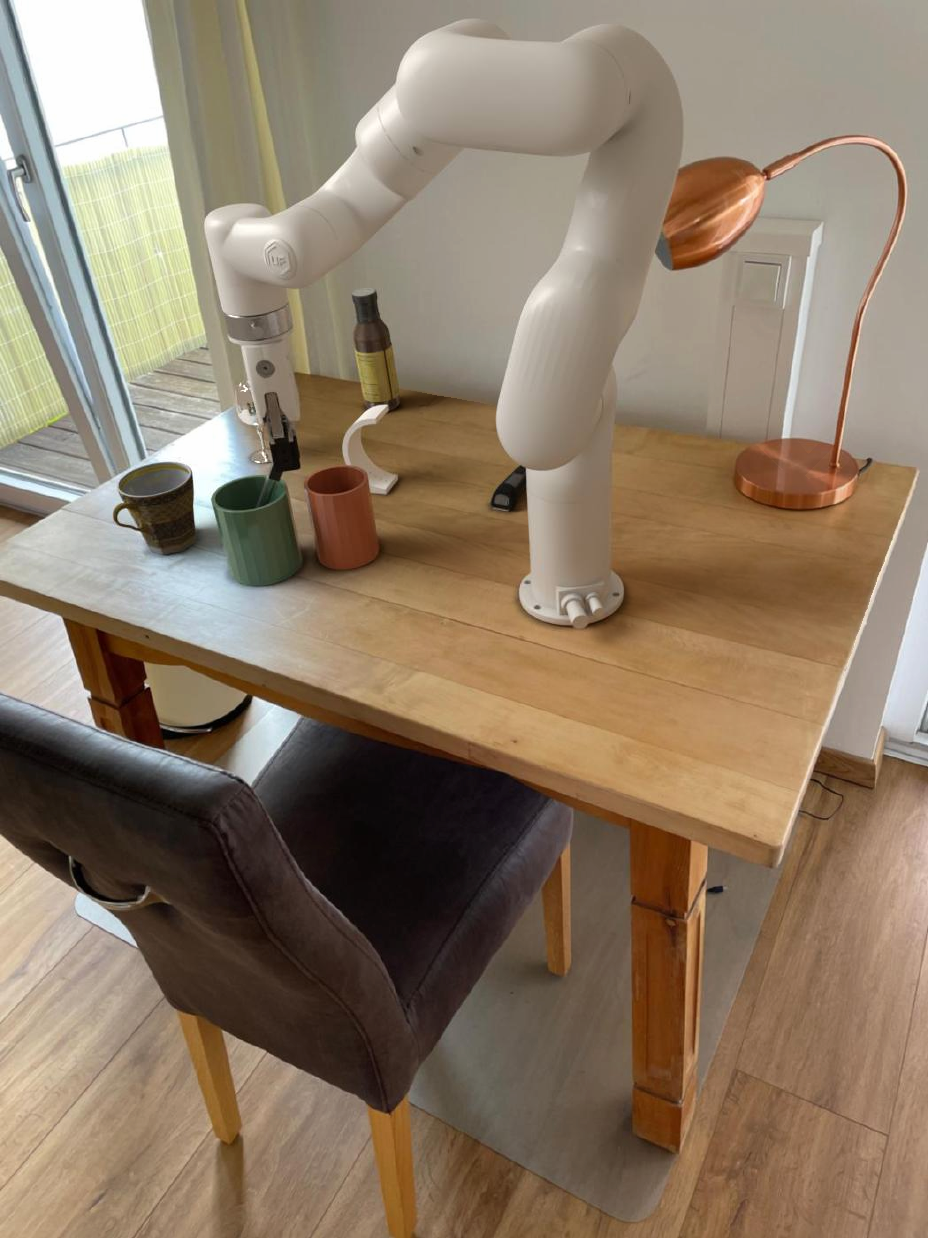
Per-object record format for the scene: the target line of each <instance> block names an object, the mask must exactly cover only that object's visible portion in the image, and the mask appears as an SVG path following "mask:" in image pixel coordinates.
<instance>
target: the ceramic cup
mask: <svg viewBox="0 0 928 1238" xmlns="http://www.w3.org/2000/svg"><path fill="white" fill-rule="evenodd" d="M116 489H117V492H118V495H119V496H120V499H121V501H122V502H121V503H118V504H117V505H116V506H114V508H113V511H112V519H113V523H115V524H116V525H117V526H119V527H121V528H126V529H131V530H133V531H137V532H140V533H141V535H142V537H143V540H144V541H145V544H146V545H147V547H148V549H149V551H150V552H151V553H154V554H159V555H161V556H166V555H170V554H175V553H180V552H181V553H182V552H183V551H186V549H188V548H189V547H191V546H192V545H193V544H195V543H196V541H197V533H196V532H197V531H196V521H195V512H194V511H195V508H194V501H195V500H194V499H195V486H194V475H193V470H192V468H191V467H190V466H189V465H187V464H185V463H182V462H177V461H160V462H158V461H157V462H153V463H148V464H145V465H142V466H139V467H136V468H134V469H132V470H130V471H128V472H126V473H125V474H124V475H123V476H122V477H120V479H119V480H118V481H117V484H116ZM125 509H127V511H128V513H129V515H130V517H131V518H132V520H133V521H134V523H135V525H136V526H134V525H132V524H125V523H122V522H120V521H119V519H118V517H119V516H118V515H119V514H120V512H121V511H122V510H125Z"/></svg>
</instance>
